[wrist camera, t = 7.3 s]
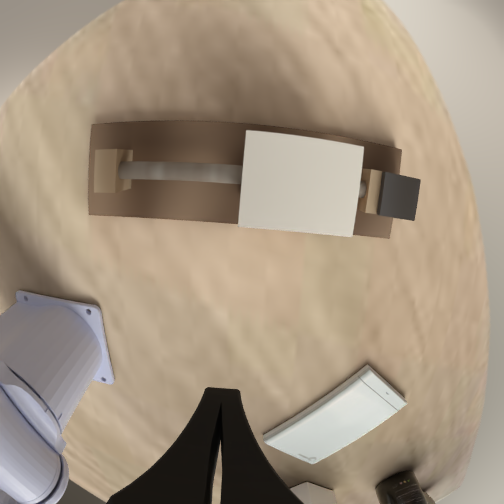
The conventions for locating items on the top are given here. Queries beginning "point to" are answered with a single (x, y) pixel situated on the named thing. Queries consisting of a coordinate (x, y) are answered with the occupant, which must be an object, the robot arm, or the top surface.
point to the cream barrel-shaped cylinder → (428, 498)
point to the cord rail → (219, 173)
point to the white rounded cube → (299, 184)
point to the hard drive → (337, 417)
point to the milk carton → (314, 494)
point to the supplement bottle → (400, 490)
